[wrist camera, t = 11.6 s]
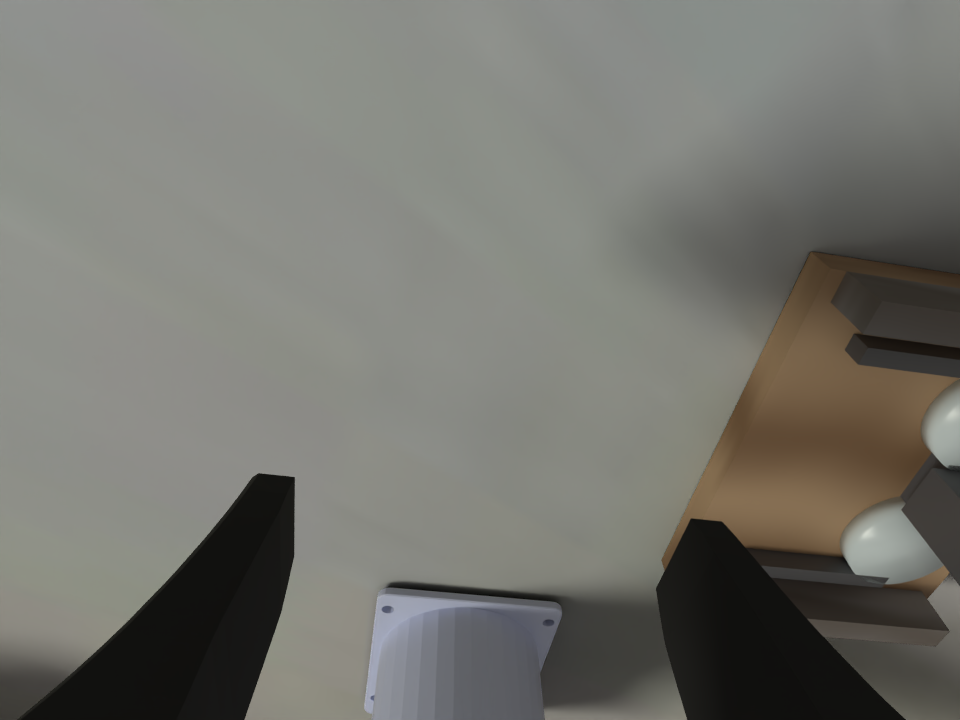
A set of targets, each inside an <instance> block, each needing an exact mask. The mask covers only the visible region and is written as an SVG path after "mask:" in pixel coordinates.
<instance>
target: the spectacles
mask: <svg viewBox="0 0 960 720" xmlns="http://www.w3.org/2000/svg"><path fill="white" fill-rule="evenodd" d="M845 351H846V352H847V353H848V354H849V356H850V357H851V358H852V359H853V360H854V361H855V362H856V363H857V364H858V365H864V366H872V367H879V368H887V369H894V370H902V371H910V372H917V373H925V374H932V375H940V376H947V377H955V378H960V348H956V347H948V346H941V345H934V344H926V343H919V342H912V341H905V340H897V339H890V338H883V337H876V336H868V335H861V334H853V336H852V338H851V339H850V341H849V343H848V345H847V347H846V348H845ZM921 437H922V441H923V442H924V444H925V446H926V447H927V448H928V449H929V450H930V451H931V452H932V453H931V454H930V456H929V457H928V459H927V460H926V461H925V463H924V464H923V465H922V467H921V468H920V469H919V471H918V472H917V474H916V475H915V476H914V478H913V479H912V480H911V482H910V483H909V485H908V486H907V487H906V489H905V490H904V491H903V493H902V494H901V495H900V496H898V497H894V498H890V499H887V500H884V501H881V502H879V503H877V504H875V505H872V506H871V507H869V508H867V509H865V510H864V511H862V512H861V513H859V514H858V515H857V516H856V517H855V518H853V519H852V520H851V521H850V522H849V524H848V525H847V526H846V527H845V529H844V531H843V532H842V535H841V538H840V550H841V553H842V554H843V556H844V557H834V556H824V555H813V554H803V553H793V552H783V551H772V550H762V549H752V548H746V549H747V550H748V551H749V552H750V554H751V555H752V556H753V557H754V558H755V559H756V561H757V562H758V563H759V564H760V565H761V566H762V568H763V569H764V570H765V571H766V572H767V573H768V575H769V576H770V577H771V578H781V579H792V580H803V581H814V582H824V583H835V584H846V585H857V586H867V587H878V588H882V587H883V585H884V584H898V583H904V582H908V581H912V580H915V579H918V578H921V577H924V576H926V575H928V574H930V573H932V572H934V571H936V570H938V569H939V568H941V567H942V566H945V567H946V569H947V570H948V571H949V572H950V574H951V575H952V576H953V578H954V579H955V580H956V582H957V583H958V584H959V585H960V379H958V380H957V381H955V382H954V383H952V384H951V385H949V386H948V387H947V388H946V389H945V390H943V391H942V392H941V393H940V394H939V395H938V396H937V397H936V398H935V399H934V401H933V402H932V403H931V404H930V406H929V407H928V409H927V411H926V412H925V415H924V417H923V419H922V423H921Z"/></svg>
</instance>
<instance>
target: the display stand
mask: <svg viewBox="0 0 960 720" xmlns="http://www.w3.org/2000/svg"><path fill="white" fill-rule="evenodd" d="M853 334H861V335H868V336H876V337H883V338H890V339H897V340H905V341H912V342H919V343H926V344H934V345H941V346H948V347H956V348H960V274H954V273H947V272H941V271H934V270H928V269H921V268H915V267H908V266H902V265H895V264H889V263H882V262H876V261H869V260H863V259H856V258H850V257H843V256H837V255H830V254H824V253H817V252H810V254H809V256H808V259H807V261H806V263H805V265H804V267H803V269H802V271H801V273H800V275H799V277H798V279H797V281H796V283H795V285H794V287H793V290H792V292H791V294H790V296H789V298H788V300H787V302H786V304H785V306H784V308H783V310H782V312H781V314H780V316H779V318H778V321H777V323H776V325H775V327H774V329H773V331H772V333H771V335H770V337H769V339H768V341H767V343H766V345H765V347H764V349H763V352H762V354H761V356H760V358H759V360H758V362H757V364H756V366H755V368H754V370H753V372H752V374H751V376H750V378H749V380H748V383H747V385H746V387H745V389H744V391H743V393H742V395H741V397H740V399H739V401H738V403H737V405H736V407H735V409H734V411H733V414H732V416H731V418H730V420H729V422H728V424H727V426H726V428H725V430H724V432H723V434H722V436H721V438H720V440H719V442H718V444H717V447H716V449H715V451H714V453H713V455H712V457H711V459H710V461H709V463H708V465H707V467H706V469H705V471H704V473H703V475H702V478H701V480H700V482H699V484H698V486H697V488H696V490H695V492H694V494H693V496H692V498H691V500H690V502H689V504H688V506H687V509H686V511H685V513H684V515H683V517H682V519H681V521H680V523H679V525H678V527H677V529H676V531H675V533H674V535H673V537H672V540H671V542H670V544H669V546H668V548H667V550H666V552H665V554H664V556H663V558H662V563H663V566H664V569H665V570H666V568H667V566H668V564H669V561H670V559H671V557H672V555H673V553H674V551H675V549H676V547H677V545H678V543H679V541H680V539H681V537H682V535H683V533H684V531H685V529H686V527H687V525H688V523H689V521H690V519H691V518H694V519H703V520H713V521H722V522H723V523H724V524H725V525H726V526H727V527H728V528H729V529H730V531H731V532H732V533H733V534H734V535H735V536H736V537H737V538H738V540H739V541H740V542H741V543H742V544H743V545H744V547H745V548H752V549H762V550H772V551H783V552H793V553H803V554H813V555H824V556H834V557H844V556H843V554H842V553H841V550H840V538H841V535H842V532H843V531H844V529H845V527H846V526H847V525H848V524H849V522H850V521H851V520H852V519H853V518H855V517H856V516H857V515H858V514H859V513H861V512H862V511H864V510H865V509H867V508H869V507H871V506H872V505H875V504H877V503H879V502H881V501H884V500H887V499H890V498H894V497H898V496H900V495H901V494H902V493H903V491H904V490H905V489H906V487H907V486H908V485H909V483H910V482H911V480H912V479H913V478H914V476H915V475H916V474H917V472H918V471H919V469H920V468H921V467H922V465H923V464H924V463H925V461H926V460H927V459H928V457H929V456H930V454H931V453H932V452H931V451H930V450H929V449H928V448H927V447H926V446H925V444H924V442H923V441H922V437H921V423H922V419H923V417H924V415H925V412H926V411H927V409H928V407H929V406H930V404H931V403H932V402H933V401H934V399H935V398H936V397H937V396H938V395H939V394H940V393H941V392H942V391H943V390H945V389H946V388H947V387H948V386H949V385H951V384H952V383H954V382H955V381H957V380H958V379H960V378H955V377H947V376H940V375H932V374H925V373H917V372H910V371H902V370H894V369H887V368H879V367H872V366H864V365H858V364H857V363H856V362H855V361H854V360H853V359H852V358H851V357H850V356H849V354H848V353H847V352H846V351H845V348H846V347H847V345H848V343H849V341H850V339H851V338H852V336H853ZM949 573H950V572H949V571H948V570H947V569H946V567H945V566H942V567H941V568H939V569H938V570H936V571H934V572H932V573H930V574H928V575H926V576H924V577H921V578H918V579H915V580H912V581H908V582H904V583H898V584H884V585H883V587H882V588H878V587H867V586H857V585H846V584H835V583H824V582H814V581H803V580H792V579H781V578H772V579H773V580H774V582H775V583H776V584H777V585H778V586H779V587H780V589H781V590H782V591H783V592H784V593H785V594H786V595H787V597H788V598H789V599H790V600H791V601H792V602H793V604H794V605H795V606H796V607H797V608H798V609H799V610H800V611H801V613H802V614H803V615H804V616H805V617H806V618H807V619H808V620H809V622H810V623H811V624H812V625H813V626H814V627H815V628H816V629H817V630H818V631H819V633H820V634H821V635H822V636H823V637H831V638H843V639H855V640H866V641H878V642H890V643H902V644H914V645H925V646H936V645H937V644H938V643H939V642H940V641H941V640H942V639H943V638H944V637H945V636H946V635H947V634H948V633H949V632H950V631H949V629H948V628H947V627H946V625H945V624H944V622H943V621H942V619H941V618H940V617H939V615H938V614H937V612H936V611H935V610H934V608H933V607H932V605H931V604H930V603H929V601H928V600H927V599H928V597H929V596H930V595H931V594H932V593H933V592H934V590H935V589H936V588H937V587H938V586H939V585H940V584H941V582H942V581H943V580H944V579H945V578H946V577H947V576H948V574H949Z"/></svg>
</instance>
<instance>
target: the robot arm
mask: <svg viewBox="0 0 960 720" xmlns="http://www.w3.org/2000/svg"><path fill="white" fill-rule="evenodd" d="M294 496H295V477H288V476H279V475H269V474H260V473H259V474H257V475H255V476H254V477H252V479H251V480H250V481H249V483H248V484H247V486H246V487H245V488H244V490H243V491H242V492H241V494H240V495H239V496H238V498H237V499H236V500H235V502H234V503H233V504H232V506H231V507H230V508H229V510H228V511H227V512H226V513H225V515H224V516H223V517H222V518H221V520H220V521H219V522H218V523H217V524H216V526H215V527H214V528H213V529H212V530H211V532H210V533H209V534H208V535H207V537H206V538H205V539H204V540H203V541H202V542H201V543H200V545H199V546H198V547H197V548H196V549H195V550H194V551H193V553H192V554H191V555H190V556H189V557H188V558H187V559H186V561H185V562H184V563H183V564H182V565H181V566H180V567H179V568H178V570H177V571H176V572H175V573H174V574H173V575H172V576H171V577H170V578H169V579H168V581H167V582H166V583H165V584H164V585H163V586H162V587H161V588H160V589H159V590H158V591H157V592H156V593H155V594H154V595H153V596H152V597H151V598H150V599H149V600H148V601H147V602H146V603H145V604H144V605H143V606H142V607H141V608H140V609H139V610H138V611H137V613H136V614H135V615H134V616H133V617H132V618H131V619H130V620H129V621H128V622H127V623H126V624H125V625H124V626H123V627H122V628H120V629H119V630H118V631H117V632H116V633H115V634H114V635H113V636H112V637H111V638H110V639H109V640H108V641H107V642H106V643H105V644H104V645H103V646H102V647H101V648H99V649H98V650H97V651H96V652H95V653H94V654H93V655H92V656H91V657H90V658H88V659H87V660H86V661H85V662H84V663H83V664H82V665H81V666H80V667H79V668H77V669H76V670H75V671H74V672H73V673H72V674H71V675H70V676H68V677H67V678H66V679H65V680H64V681H63V682H62V683H60V684H59V685H58V686H57V687H56V688H54V689H53V690H52V691H51V692H50V693H49V694H47V695H46V696H45V697H44V698H43V699H41V700H40V701H39V702H38V703H37V704H36V705H34V706H33V707H32V708H31V709H30V710H28V711H27V712H26V713H25V714H24V715H23V716H21V717H20V718H19V719H18V720H244V719H245V716H246V713H247V710H248V707H249V704H250V702H251V699H252V696H253V693H254V690H255V687H256V684H257V681H258V678H259V676H260V673H261V670H262V667H263V664H264V661H265V658H266V655H267V652H268V649H269V647H270V644H271V641H272V638H273V635H274V632H275V629H276V626H277V623H278V620H279V617H280V614H281V611H282V606H283V602H284V598H285V594H286V590H287V585H288V581H289V576H290V572H291V568H292V563H293V559H294ZM656 591H657V598H658V604H659V611H660V618H661V623H662V629H663V634H664V640H665V645H666V648H667V652H668V655H669V659H670V662H671V666H672V669H673V673H674V676H675V680H676V683H677V687H678V690H679V693H680V697H681V700H682V703H683V707H684V710H685V713H686V717H687V720H906V719H904V718H903V717H902V716H901V715H900V714H899V713H898V712H897V711H896V710H895V709H894V708H893V707H891V706H890V705H889V704H888V703H887V702H886V701H885V700H884V699H883V698H882V697H881V696H880V695H879V694H878V693H877V692H876V691H875V690H874V689H873V688H872V687H871V686H870V685H869V684H868V683H867V682H866V681H865V680H864V679H863V678H862V677H861V676H860V675H859V674H858V673H857V672H856V671H855V670H854V669H853V667H852V666H851V665H850V664H849V663H848V662H847V661H846V660H845V659H844V658H843V657H842V656H841V655H840V654H839V653H838V652H837V651H836V650H835V649H834V648H833V647H832V646H831V644H830V643H829V642H828V641H827V640H826V639H825V638H824V637H823V636H822V635H821V634H820V633H819V631H818V630H817V629H816V628H815V627H814V626H813V625H812V624H811V623H810V622H809V620H808V619H807V618H806V617H805V616H804V615H803V614H802V613H801V611H800V610H799V609H798V608H797V607H796V606H795V605H794V604H793V602H792V601H791V600H790V599H789V598H788V597H787V595H786V594H785V593H784V592H783V591H782V590H781V589H780V587H779V586H778V585H777V584H776V583H775V582H774V580H773V579H772V578H771V577H770V576H769V575H768V573H767V572H766V571H765V570H764V569H763V568H762V566H761V565H760V564H759V563H758V562H757V561H756V559H755V558H754V557H753V556H752V555H751V554H750V552H749V551H748V550H747V549H746V548H745V547H744V545H743V544H742V543H741V542H740V541H739V540H738V538H737V537H736V536H735V535H734V534H733V533H732V532H731V531H730V529H729V528H728V527H727V526H726V525H725V524H724V523H723V522H722V521H713V520H703V519H694V518H691V519H690V521H689V523H688V525H687V527H686V529H685V531H684V533H683V535H682V537H681V539H680V541H679V543H678V545H677V547H676V549H675V551H674V553H673V555H672V557H671V559H670V561H669V564H668V566H667V568H666V570H665V572H664V574H663V576H662V578H661V580H660V582H659V584H658V586H657V588H656ZM561 617H562V608H561V606H560V604H558V603H556V602H551V601H540V600H528V599H517V598H505V597H494V596H482V595H471V594H459V593H448V592H436V591H425V590H413V589H402V588H384V589H382V590H380V591H379V593H378V596H377V604H376V613H375V621H374V629H373V638H372V646H371V654H370V663H369V671H368V680H367V688H366V696H365V705H364V709H365V710H366V711H367V712H368V713H371V714H372V720H545V716H544V706H543V696H542V687H541V677H540V672H541V670H542V667H543V665H544V662H545V659H546V657H547V654H548V651H549V649H550V646H551V644H552V641H553V638H554V636H555V633H556V631H557V628H558V625H559V623H560V620H561Z"/></svg>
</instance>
